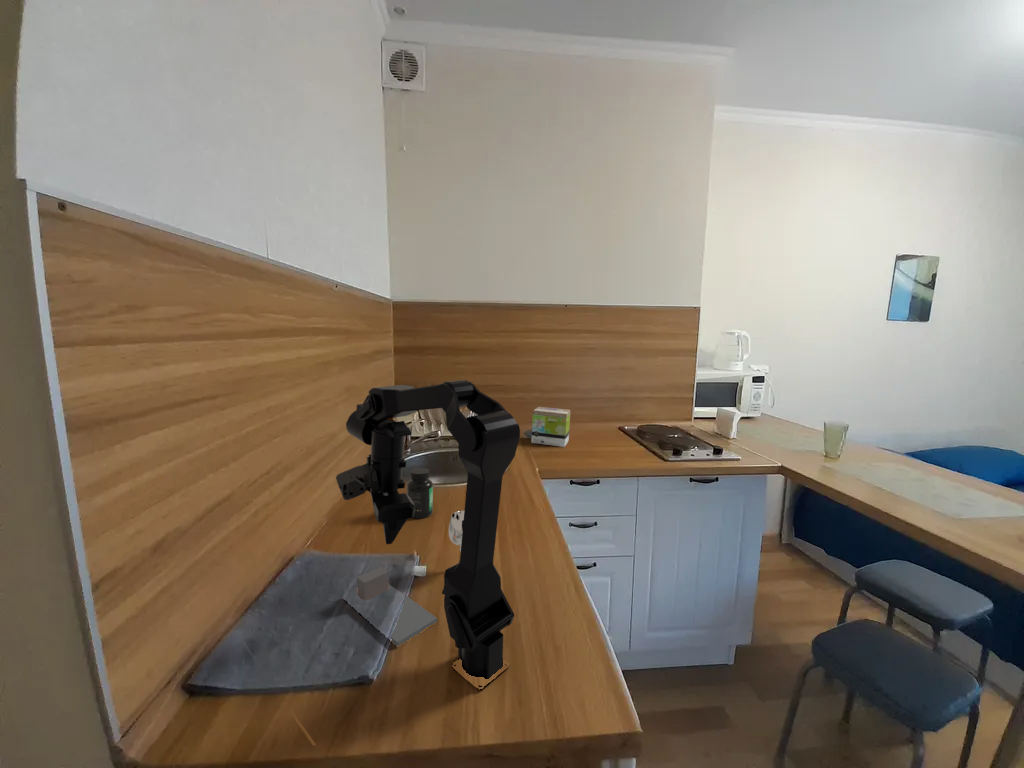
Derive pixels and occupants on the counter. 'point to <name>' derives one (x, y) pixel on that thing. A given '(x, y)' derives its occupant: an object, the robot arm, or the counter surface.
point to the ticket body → (411, 621)
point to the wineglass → (456, 527)
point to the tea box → (550, 426)
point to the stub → (372, 583)
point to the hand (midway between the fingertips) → (383, 530)
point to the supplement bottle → (421, 492)
